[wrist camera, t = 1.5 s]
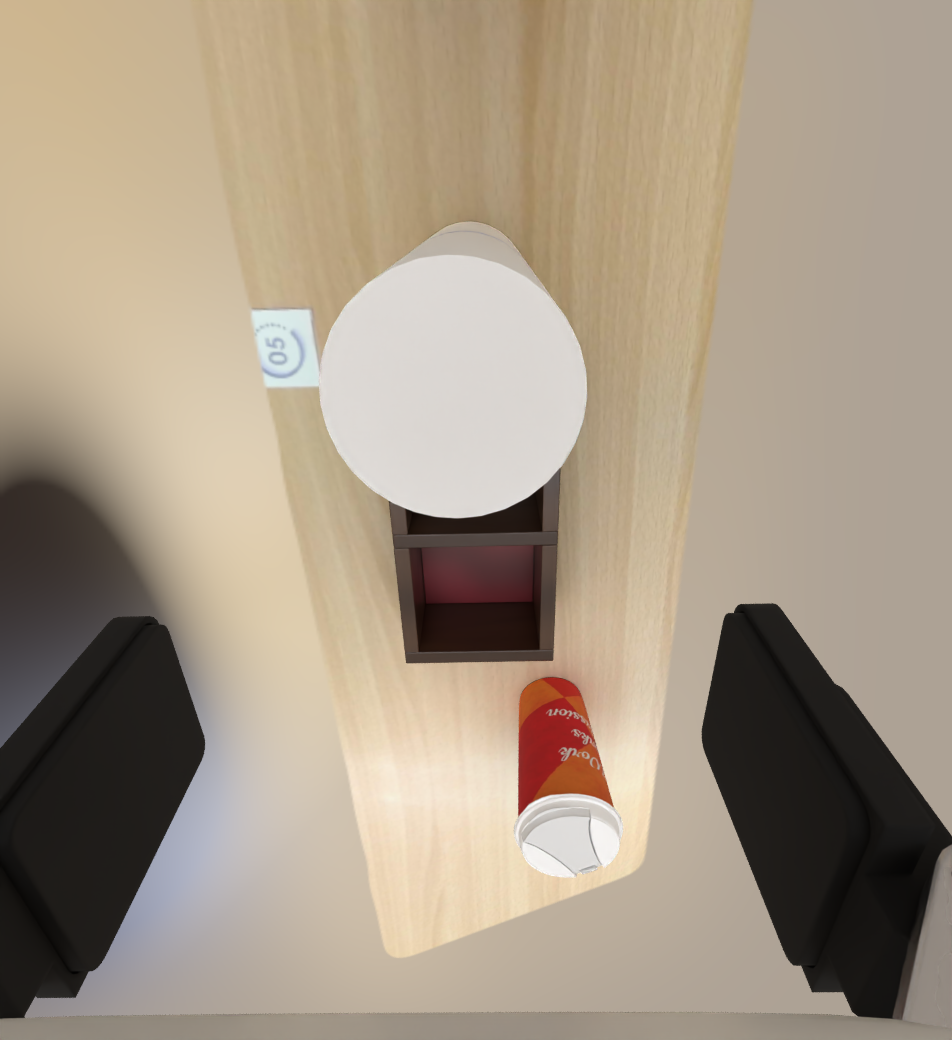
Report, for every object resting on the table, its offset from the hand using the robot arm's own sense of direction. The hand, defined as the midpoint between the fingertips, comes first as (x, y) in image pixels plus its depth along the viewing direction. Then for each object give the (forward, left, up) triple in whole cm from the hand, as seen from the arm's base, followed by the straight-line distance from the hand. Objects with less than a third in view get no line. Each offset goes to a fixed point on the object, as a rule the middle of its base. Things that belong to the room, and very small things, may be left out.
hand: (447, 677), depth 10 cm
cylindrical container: (-2, 0, -33) cm, 33 cm away
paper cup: (+33, +6, -33) cm, 47 cm away
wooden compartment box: (+12, 0, -33) cm, 35 cm away
